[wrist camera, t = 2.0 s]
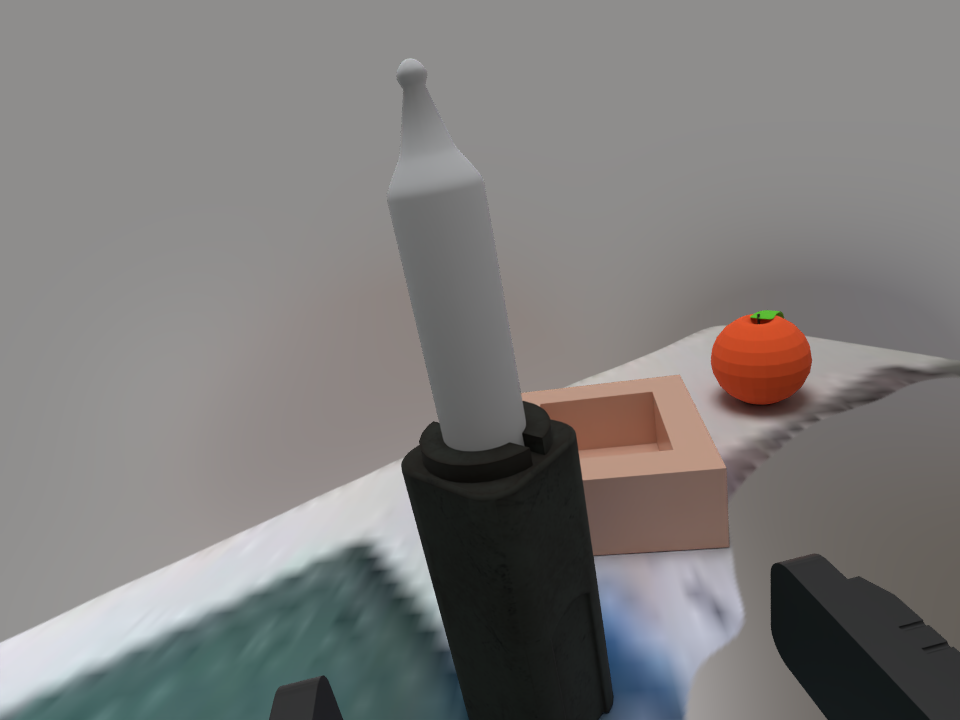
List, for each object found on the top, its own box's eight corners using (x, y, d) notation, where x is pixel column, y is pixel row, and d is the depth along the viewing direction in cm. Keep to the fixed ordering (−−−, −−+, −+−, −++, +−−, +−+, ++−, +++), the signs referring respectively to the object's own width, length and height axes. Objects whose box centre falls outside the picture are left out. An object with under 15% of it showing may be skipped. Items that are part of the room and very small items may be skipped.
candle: (529, 637, 28) (415, 75, 19) (624, 689, 24) (537, 32, 16) (457, 719, 24) (280, 84, 16) (555, 793, 21) (396, 33, 12)
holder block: (510, 560, 33) (495, 487, 31) (521, 452, 44) (511, 394, 42) (729, 547, 31) (726, 467, 29) (683, 436, 42) (679, 374, 40)
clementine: (741, 371, 50) (739, 293, 48) (830, 384, 45) (832, 298, 43) (696, 409, 45) (691, 324, 43) (789, 429, 40) (790, 334, 38)
